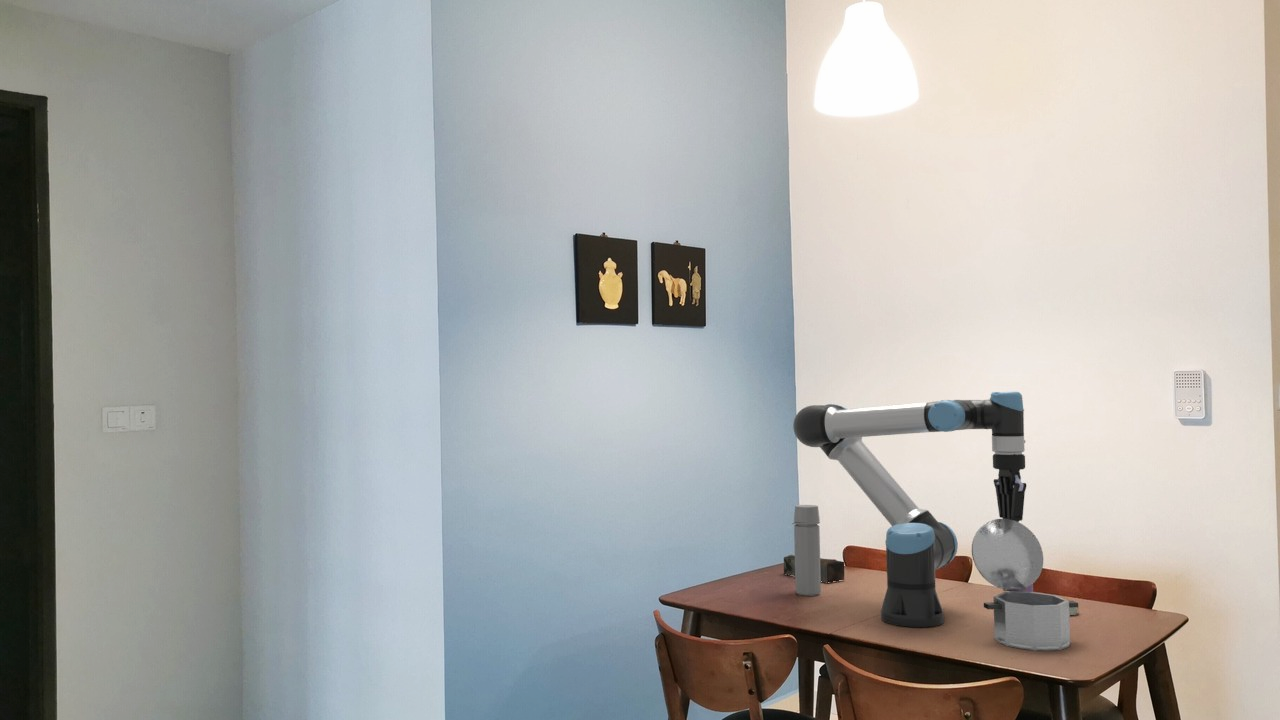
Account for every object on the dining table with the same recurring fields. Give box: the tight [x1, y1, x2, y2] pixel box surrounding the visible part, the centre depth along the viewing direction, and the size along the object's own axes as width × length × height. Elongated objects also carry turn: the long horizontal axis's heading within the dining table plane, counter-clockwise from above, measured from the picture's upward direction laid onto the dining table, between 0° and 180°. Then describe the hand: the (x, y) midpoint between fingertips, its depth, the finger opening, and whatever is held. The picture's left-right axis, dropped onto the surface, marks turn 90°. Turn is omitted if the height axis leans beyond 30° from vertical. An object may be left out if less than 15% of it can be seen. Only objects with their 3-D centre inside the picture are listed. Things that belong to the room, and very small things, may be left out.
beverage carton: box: [783, 554, 846, 584], centre depth 283 cm, size 8×19×7 cm, turn 36°
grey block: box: [1062, 597, 1079, 617], centre depth 234 cm, size 8×9×4 cm
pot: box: [983, 591, 1079, 652], centre depth 207 cm, size 21×16×10 cm
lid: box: [971, 518, 1044, 592], centre depth 219 cm, size 17×17×3 cm
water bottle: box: [791, 504, 822, 597], centre depth 261 cm, size 9×8×25 cm
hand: (1011, 548), depth 226 cm, fingers closed
